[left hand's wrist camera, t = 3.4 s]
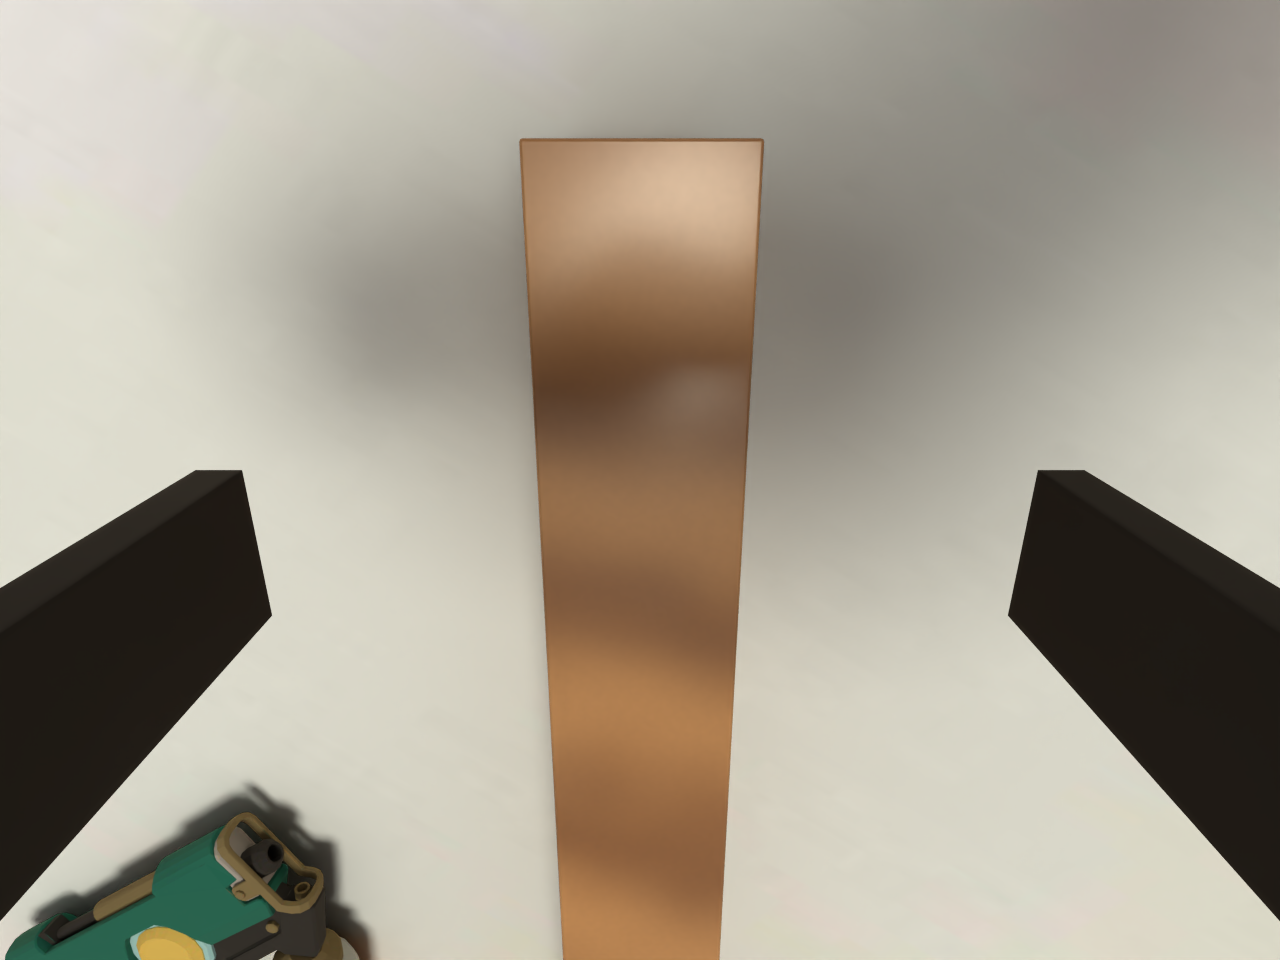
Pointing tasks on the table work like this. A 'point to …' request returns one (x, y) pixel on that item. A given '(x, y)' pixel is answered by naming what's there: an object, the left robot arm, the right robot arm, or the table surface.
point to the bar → (641, 518)
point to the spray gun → (201, 909)
